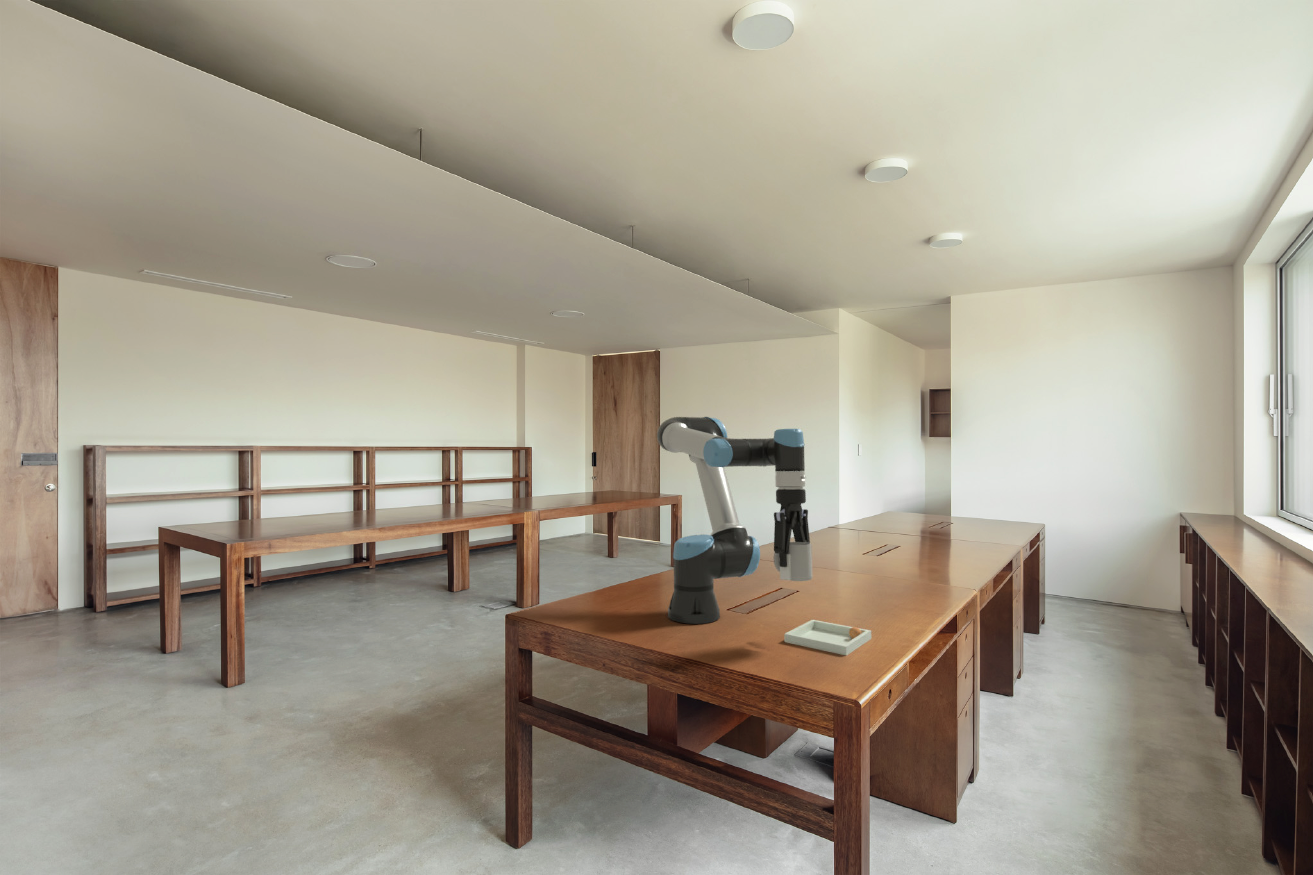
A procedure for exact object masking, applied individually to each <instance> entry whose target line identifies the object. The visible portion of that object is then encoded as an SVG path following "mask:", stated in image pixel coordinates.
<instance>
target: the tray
mask: <svg viewBox="0 0 1313 875" xmlns="http://www.w3.org/2000/svg"><path fill="white" fill-rule="evenodd" d="M852 627H853V626H849V625H843V624H839V623H832V622H826V621H822V620H817V619H811V620H809V621H807V622H805V623H802V624H800V625H799V626H797V627H795V628H793V629H791V630H789V631H787V632H785V633H784V637H783V638H784V642H785V643H786V644H792V645H796V646H801V647H805V648H809V649H814V650H819V651H825V652H829V653H833V654H837V655H840V656H841V655H842V656H849V655H850V654H851V653H852V652H854V651H855V650H857V649H858V648H860V647H861V646H863V645H864V644H866V643H867V642H869V641H870V640H872V630H870V629H865V628H860V627H858V628H859V629H860V630H861V634H860V635H859V636H857V637H855V638H854V639H852V638H851V637H850V635H849V630H850V629H851V628H852Z"/></svg>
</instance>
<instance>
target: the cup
mask: <svg viewBox="0 0 1313 875" xmlns="http://www.w3.org/2000/svg"><path fill="white" fill-rule="evenodd" d="M788 554H790V559H791V580H789V582H808V581H811V580H812V579H813V556H812V543H811V542H810V543H806V542H795V541H790V545H789V551H788ZM773 564H774V567H775V569H776V570H777V571H778V572H779V573H780V558H779V554H778V553H775V552H774V553H773Z"/></svg>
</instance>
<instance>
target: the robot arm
mask: <svg viewBox="0 0 1313 875" xmlns="http://www.w3.org/2000/svg"><path fill="white" fill-rule="evenodd" d="M656 439H657V443H658V445H659V446H660V447H661V448H662V449H664V451H667V452H669V453H676V454H677V453H684V454H686V455H688V458H689V460H690V461H691V463H694V464H695V466H696V470H697V475H698V479H699V482H700V486H701V489H702V493H703V497H704V502H705V506H706V511H707V513H708V517H709V521H710V525H711V529H712V532H711V534H693V535H687V536H684V537H681V538H679V539H677V540H676V541H675V542H674V545H673V554H672V558H673V591H672V592H673V593H672V595H671V598H670V601H669V605H668V608H667V618H668V619H670V620H671V621H673V622H677V623H682V624H690V625H694V624H695V625H698V624H699V625H700V624H708V623H713V622H716V621H718V620H719V619H720V617H721V616H720V615H721V614H720V612H721V611H720V607H719V604H718V601H717V597H716V594H715V590H714V589H715V588H714V580H717V579H725V578H726V579H727V578H742V577H744V576H751V575H753V573H755V571H756V570H757V569H758V567H759V563H760V559H761V549H760V544H759V541H758V540H757V539H756V538H755V537H754V536H751V535H748V531H747V529H746V527H745V526H743V525H742V524H741V523H740V521H739V517H738V513H737V510H736V507H735V503H734V499H733V496H732V491H731V489H730V485H729V482H728V480H729V479H728V476H727V472H726V470H725V468H728V467H730V468H731V467H771V466H774V468H775V476H774V477H775V487H776V488H777V489H776V490H775V502H776V503H777V504H778V505H780V509H779V511H778V512H775V511H774V512H773V518H774V519H773V520H774V528H773V529H774V532H773V533H774V534H773V552H774V553H778V554H779V560H780V572H779V579H780V580H781V581H782V580H783V581H790V580H791V559H790V554H788V551H789V545H790V542H791V537H792V533H793V539H794V542H806V543H811V539H810V529H809V520H808V517H809V516H808V515H809V510H808V509H807V508H806V509H803V507H802V505H803V504H805V503H806V501H807V497H806V496H807V495H806V490H805V488H804V487H805V486H806V478H807V477H806V475H805V474H806V473H805V467H806V466H805V441H804V432H803V431H802V429H800V428H780V429H779V428H778V429H776V430H775V431H774V432H773V438H772V437H771V438H769V437H768V438H728V432H727V428H726V426H725V425H724V423H723V422H722V421H721V420H720V419H718V418H716V417H710V416H704V417H703V416H702V417H701V416H700V417H695V416H691V417H690V416H674V417H671V418H668V419H665V421H663V422H662V423H661V424H660V425H659V427H658V429H657V433H656Z"/></svg>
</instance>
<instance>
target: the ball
mask: <svg viewBox="0 0 1313 875" xmlns="http://www.w3.org/2000/svg"><path fill="white" fill-rule="evenodd" d="M851 627H852V628H851V629H850V630H849V635H850V637H851V638H852V639H854V638H855V637H857V636H859V635H860V634H861V630H860V629H861V628H860V627H857V626H851ZM859 628H860V629H859Z"/></svg>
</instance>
